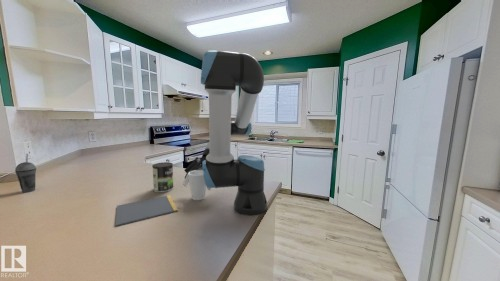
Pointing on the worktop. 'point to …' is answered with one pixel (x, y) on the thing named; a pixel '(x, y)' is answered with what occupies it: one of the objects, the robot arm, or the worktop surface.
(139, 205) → the mat
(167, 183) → the coffee can
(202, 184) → the foam cup
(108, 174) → the worktop surface
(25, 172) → the beverage cup
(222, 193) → the worktop surface
